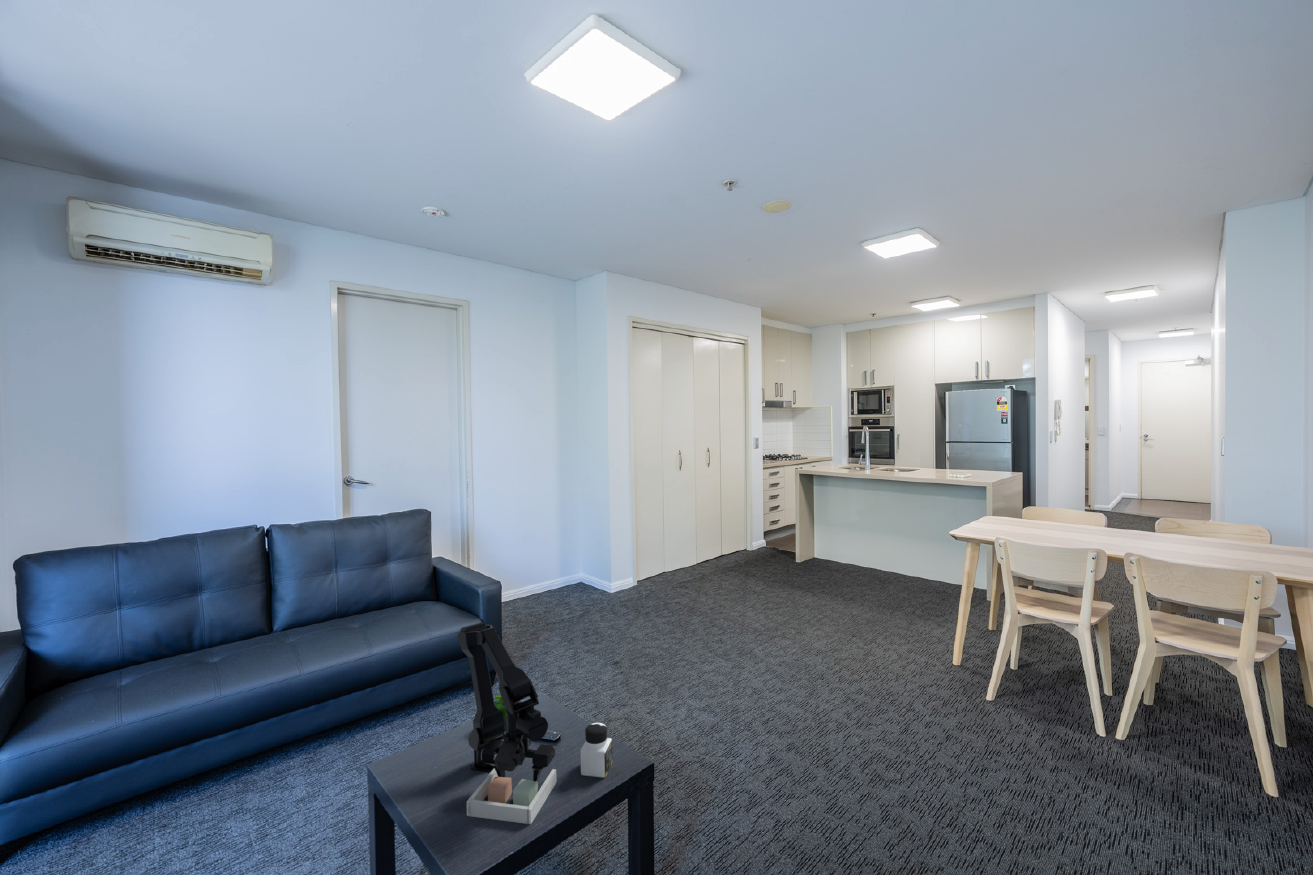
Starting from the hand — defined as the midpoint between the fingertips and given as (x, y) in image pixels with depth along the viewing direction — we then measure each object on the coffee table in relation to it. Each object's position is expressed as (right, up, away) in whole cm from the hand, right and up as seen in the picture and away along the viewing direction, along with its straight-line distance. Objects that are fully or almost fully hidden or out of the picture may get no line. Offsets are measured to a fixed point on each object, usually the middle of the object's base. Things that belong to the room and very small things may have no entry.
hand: (518, 784), depth 143 cm
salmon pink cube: (-4, -2, -3) cm, 5 cm away
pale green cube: (+3, -2, -4) cm, 5 cm away
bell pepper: (-13, -2, +33) cm, 35 cm away
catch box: (-1, -2, -3) cm, 3 cm away
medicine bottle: (+20, -1, +9) cm, 22 cm away
